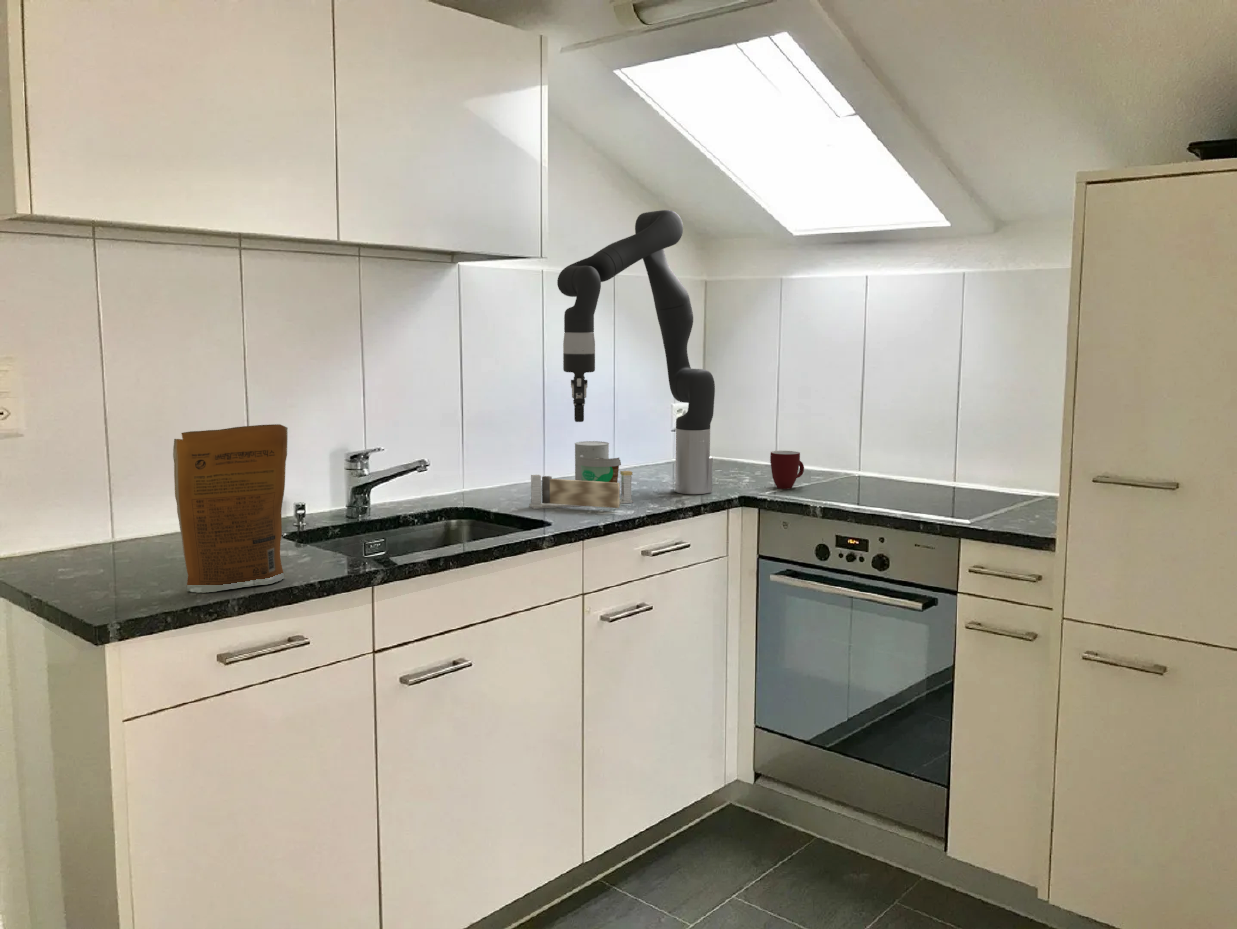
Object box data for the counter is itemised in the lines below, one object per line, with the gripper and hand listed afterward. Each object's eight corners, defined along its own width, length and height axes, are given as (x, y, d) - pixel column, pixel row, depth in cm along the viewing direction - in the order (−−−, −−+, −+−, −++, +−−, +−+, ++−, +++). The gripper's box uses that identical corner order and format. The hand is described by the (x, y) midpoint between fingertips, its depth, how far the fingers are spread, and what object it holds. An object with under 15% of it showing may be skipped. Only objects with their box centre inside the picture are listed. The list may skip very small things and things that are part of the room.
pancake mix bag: (299, 583, 175) (292, 424, 171) (183, 600, 165) (172, 431, 161) (289, 575, 181) (282, 421, 177) (175, 590, 170) (165, 427, 166)
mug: (789, 484, 284) (790, 449, 283) (811, 487, 278) (812, 452, 277) (763, 487, 278) (764, 452, 276) (785, 491, 272) (785, 455, 270)
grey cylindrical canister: (577, 484, 284) (577, 441, 282) (610, 484, 283) (610, 441, 281) (572, 489, 274) (572, 445, 273) (607, 490, 273) (607, 445, 272)
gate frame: (533, 509, 245) (533, 476, 244) (529, 506, 249) (529, 474, 248) (633, 502, 254) (633, 471, 253) (627, 500, 258) (628, 469, 257)
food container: (569, 494, 267) (569, 457, 265) (581, 491, 272) (580, 454, 270) (610, 498, 261) (610, 460, 259) (621, 494, 266) (621, 457, 265)
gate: (540, 503, 248) (540, 477, 247) (544, 501, 250) (544, 475, 249) (617, 508, 241) (617, 481, 240) (620, 506, 243) (620, 480, 242)
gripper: (595, 352, 229) (595, 423, 232) (594, 351, 244) (594, 417, 246) (562, 352, 229) (562, 423, 231) (563, 351, 243) (564, 417, 246)
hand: (579, 420), depth 239 cm, fingers open, 8 cm apart
